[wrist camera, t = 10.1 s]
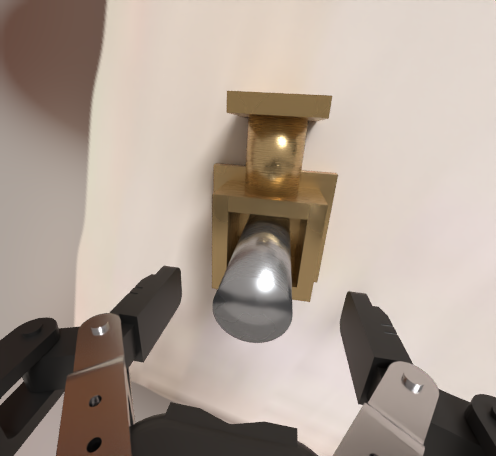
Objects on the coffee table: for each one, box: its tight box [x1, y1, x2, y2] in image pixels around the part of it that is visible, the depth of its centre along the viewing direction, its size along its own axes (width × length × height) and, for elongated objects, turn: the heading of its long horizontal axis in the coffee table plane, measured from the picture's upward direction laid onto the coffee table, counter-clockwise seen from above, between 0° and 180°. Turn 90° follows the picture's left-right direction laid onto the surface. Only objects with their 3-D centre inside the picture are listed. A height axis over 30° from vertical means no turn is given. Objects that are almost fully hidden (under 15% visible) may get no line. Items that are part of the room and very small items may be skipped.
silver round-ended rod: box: [213, 214, 292, 343], centre depth 15 cm, size 3×3×10 cm
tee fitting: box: [212, 91, 338, 302], centre depth 17 cm, size 9×13×5 cm
